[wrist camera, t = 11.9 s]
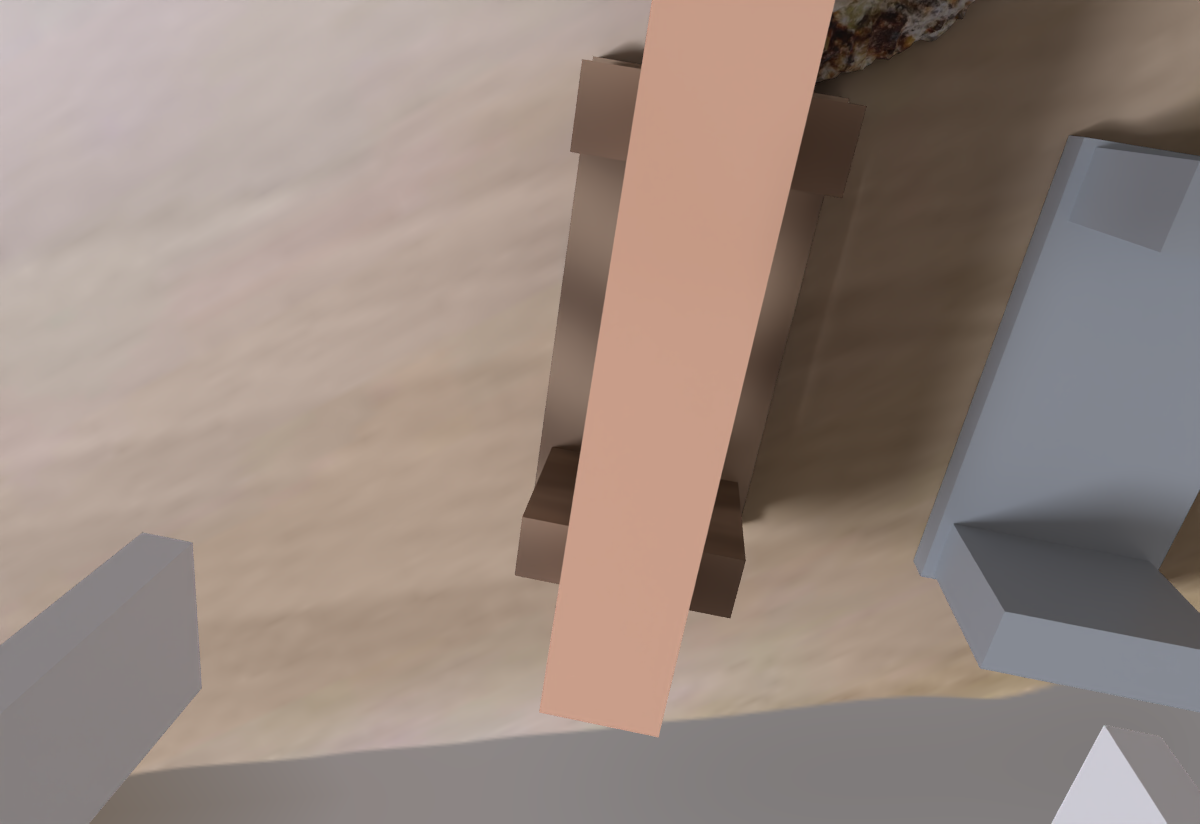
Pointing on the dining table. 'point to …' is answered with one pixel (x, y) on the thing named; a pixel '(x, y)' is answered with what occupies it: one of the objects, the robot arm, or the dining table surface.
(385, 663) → the dining table surface
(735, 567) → the bronze cradle base
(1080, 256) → the stand
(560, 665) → the salmon pink square bar
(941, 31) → the mineral rock
